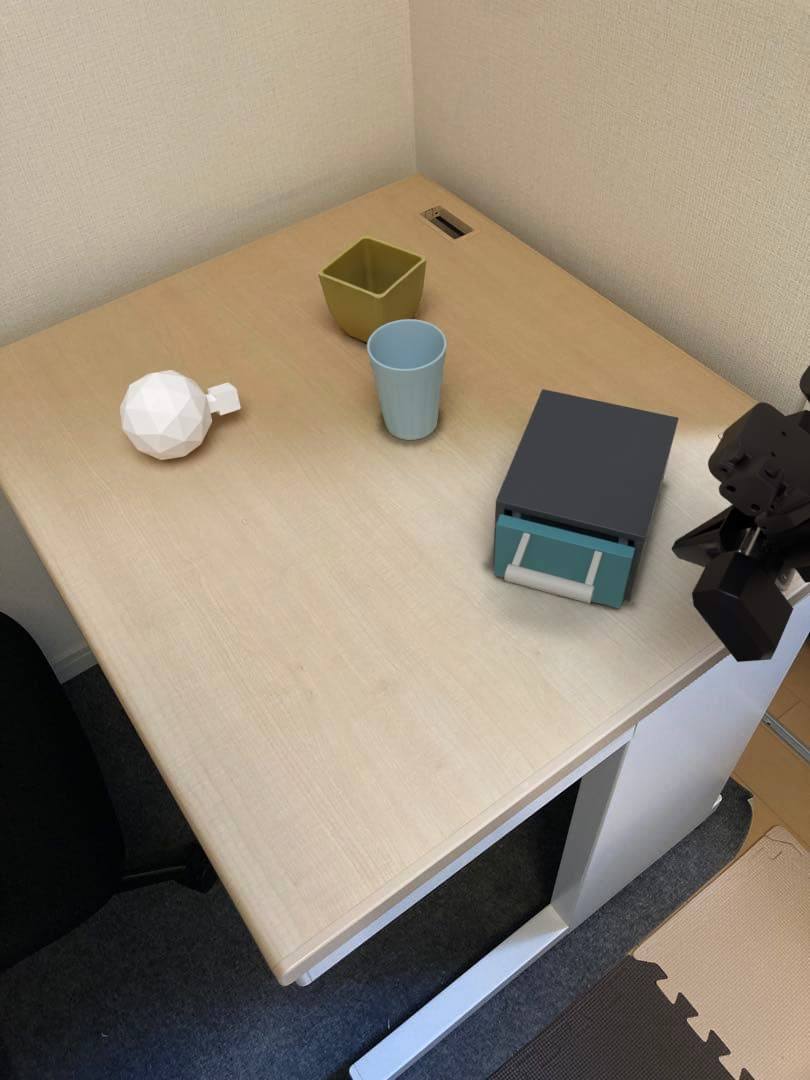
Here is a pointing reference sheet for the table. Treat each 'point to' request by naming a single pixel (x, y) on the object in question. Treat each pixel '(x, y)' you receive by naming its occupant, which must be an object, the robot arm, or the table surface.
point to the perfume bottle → (172, 413)
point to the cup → (408, 375)
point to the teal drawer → (562, 559)
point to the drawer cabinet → (590, 468)
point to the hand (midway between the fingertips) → (675, 549)
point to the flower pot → (372, 285)
